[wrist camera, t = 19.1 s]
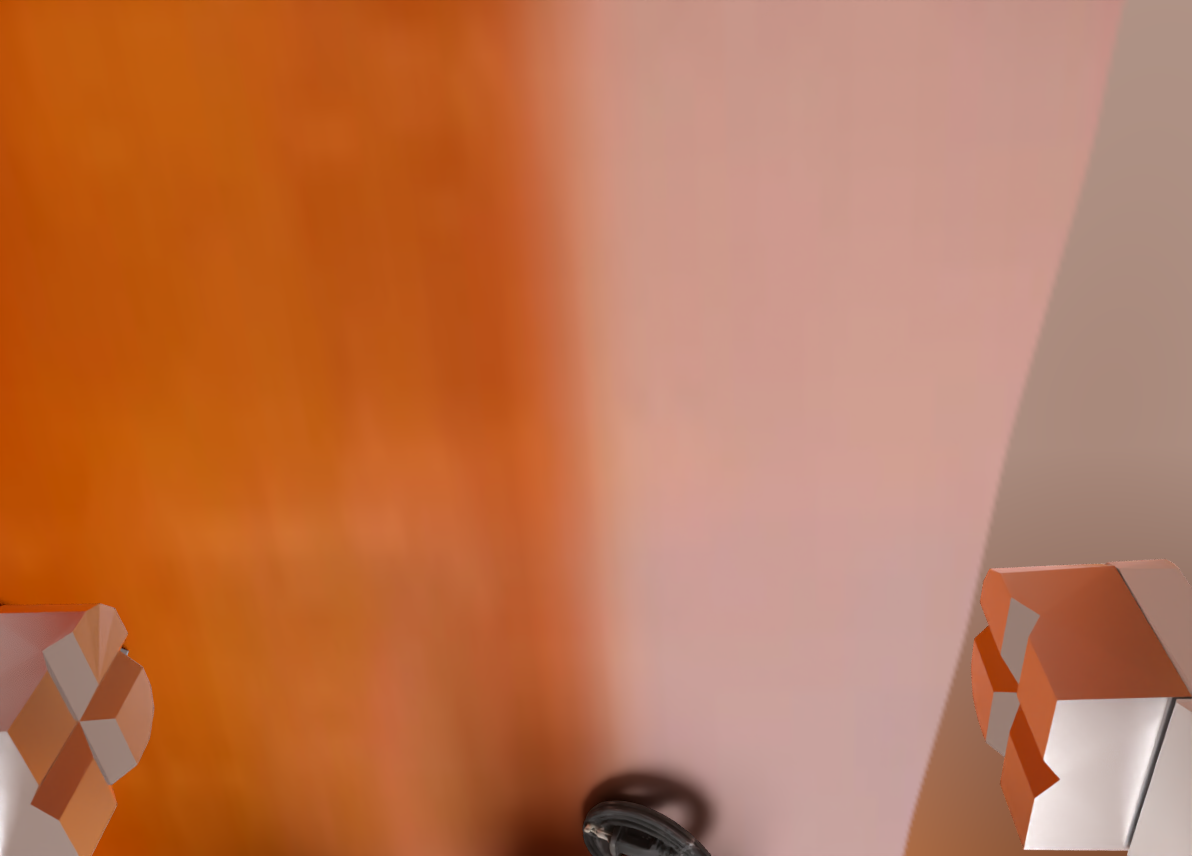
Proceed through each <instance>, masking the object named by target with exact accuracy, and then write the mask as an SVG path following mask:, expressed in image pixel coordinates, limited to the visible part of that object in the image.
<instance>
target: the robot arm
mask: <svg viewBox="0 0 1192 856" xmlns="http://www.w3.org/2000/svg"><path fill="white" fill-rule="evenodd" d="M980 604H981V606H982V609H983V611H984V614H985V616H986V619H987V622H988V624H989V626H987V627H986V628H985V629H984V630H983V631H982V632H981V633H980V634H979V635H978V636H977V637H976V638H975V639H974V645H973V654H972V662H971V675H972V691H973V699H974V704H975V709H976V713H977V718H978V721H979V724H980V727H981V730H982V733H983V736H984V739H985V742H986V743H988V744H989V745H990V746H991V747H992V748H994V749H995V750H996V751H997V752H999V753H1000V754H1001V755H1003V756H1004V757H1005V759H1004V765H1003V770H1002V776H1001V781H1000V785H1001V788H1002V791H1003V793H1004V796H1005V799H1006V802H1007V804H1008V807H1009V810H1010V813H1011V816H1012V818H1013V821H1014V824H1015V827H1016V829H1017V832H1018V835H1019V838H1020V840H1021V843H1022V846H1023V849H1024V850H1026V849H1027V850H1028V849H1029V850H1129V851H1128V854H1127V855H1128V856H1192V587H1191V585H1190V584H1189V583H1188V581H1187V580H1186V578H1185V577H1184V575H1183V574H1182V572H1181V571H1180V569H1179V568H1178V567H1177V565H1175V564H1173V563H1172V562H1170V561H1168V560H1167V559H1154V560H1136V561H1119V562H1107V563H1105V564H1077V565H1057V566H1034V567H1014V568H1013V567H1012V568H991V569H989V571H988V573H987V575H986V577H985V579H984V582H983V587H982V593H981V599H980ZM127 634H128V633H127V631H126V629H125V627H124V625H123V623H122V621H121V619H120V617H119V616H118V614H117V612H116V610H115V608H113V607H109V606H106V605H103V604H36V605H2V606H0V856H91V855H92V853H93V851H94V850H95V848H96V846H97V844H98V842H99V840H100V838H101V836H102V834H103V832H104V830H105V828H106V826H107V824H108V822H109V820H110V818H111V816H112V814H113V812H114V810H115V808H116V806H117V802H116V799H115V795H114V792H113V788H112V784H113V783H115V782H116V781H117V780H118V779H120V778H121V777H122V776H123V775H125V774H126V773H127V772H129V771H130V770H131V769H132V768H134V767H135V766H136V765H137V764H138V762H139V760H140V758H141V756H142V754H143V751H144V749H145V747H146V745H147V743H148V741H149V738H150V732H151V725H152V719H153V713H154V704H153V697H152V690H151V685H150V683H149V680H148V678H147V676H146V673H145V671H144V669H143V667H142V666H140V665H139V664H138V663H136V662H135V661H133V660H132V659H131V658H129V657H128V656H127V655H125V654H124V653H122V652H121V651H120V649H121V647H122V645H123V643H124V641H125V639H126V636H127Z"/></svg>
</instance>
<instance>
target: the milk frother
mask: <svg viewBox="0 0 1192 856" xmlns="http://www.w3.org/2000/svg"><path fill="white" fill-rule="evenodd" d="M583 833H584V834H583V838H584V842H585V844H586V846H587V848H588V850H589V852H590V853H591V854H592V856H622V855H621V854H619V853H622V854H625V855H628V856H711V855H710V853H709V852H708V851H707V850H706V849H705V847H704V846H703V845H702V844H701V843H700V842H699V841H698V840H697V839H696V838H695V837H694V836H692V835H691V834H690V833H689V832H688V831H686V830H685V829H684V828H683V827H681V826H680V825H679V824H677V823H676V822H675V821H673V820H671V819H670V818H668V817H666V816H665V815H663V814H661V813H659V812H657V811H655V810H653V809H650V808H648V807H645V806H643V805H640V804H635V803H632V802H626V801H605V802H601V803H598V804H597V805H596V806H594V807H593V808H592V809H591V810H590V811H589V812H588V814H587V816H586V819H585V821H584V825H583ZM608 842H609V843H608Z"/></svg>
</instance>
